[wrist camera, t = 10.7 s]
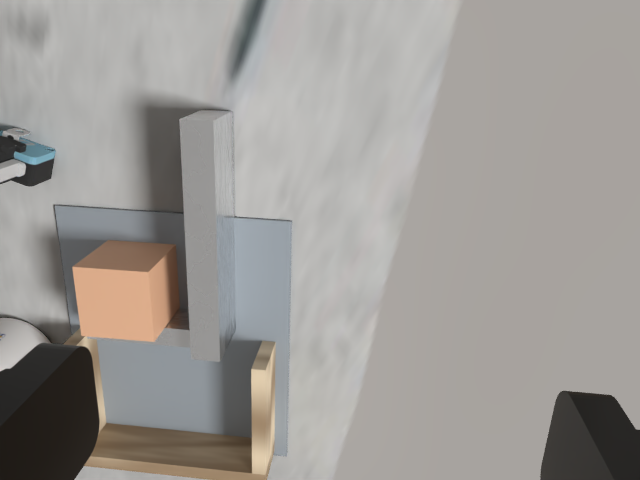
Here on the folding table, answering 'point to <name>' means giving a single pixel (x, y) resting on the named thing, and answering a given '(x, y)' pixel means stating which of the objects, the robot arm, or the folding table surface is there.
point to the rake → (206, 238)
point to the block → (127, 290)
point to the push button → (24, 159)
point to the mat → (175, 362)
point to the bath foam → (17, 341)
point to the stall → (191, 434)
